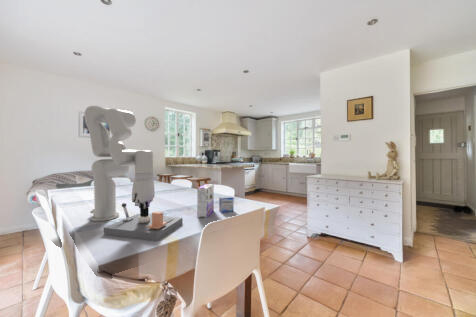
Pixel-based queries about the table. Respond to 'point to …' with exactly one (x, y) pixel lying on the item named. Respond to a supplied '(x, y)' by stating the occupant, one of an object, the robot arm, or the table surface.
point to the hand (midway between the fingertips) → (144, 216)
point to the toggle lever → (125, 210)
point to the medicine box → (226, 204)
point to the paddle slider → (157, 220)
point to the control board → (142, 228)
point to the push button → (143, 219)
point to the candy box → (205, 200)
